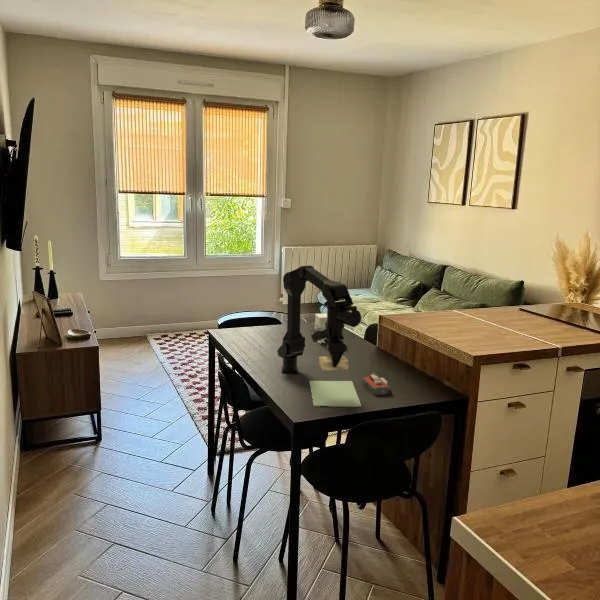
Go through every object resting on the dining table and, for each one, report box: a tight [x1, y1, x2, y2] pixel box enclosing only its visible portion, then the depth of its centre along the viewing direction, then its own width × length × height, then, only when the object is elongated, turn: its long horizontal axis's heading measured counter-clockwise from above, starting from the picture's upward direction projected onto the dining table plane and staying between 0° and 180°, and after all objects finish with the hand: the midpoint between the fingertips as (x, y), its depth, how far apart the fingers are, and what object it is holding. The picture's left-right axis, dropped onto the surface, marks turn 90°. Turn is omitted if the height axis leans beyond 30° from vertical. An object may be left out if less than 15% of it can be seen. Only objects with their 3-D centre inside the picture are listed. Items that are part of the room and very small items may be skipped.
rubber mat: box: [308, 380, 362, 408], centre depth 190 cm, size 22×16×1 cm
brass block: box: [318, 355, 349, 371], centre depth 187 cm, size 9×6×3 cm, turn 100°
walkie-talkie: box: [361, 371, 393, 396], centre depth 199 cm, size 9×4×20 cm
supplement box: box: [314, 312, 327, 345], centre depth 250 cm, size 7×7×13 cm
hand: (333, 363), depth 187 cm, fingers closed on brass block, 6 cm apart
